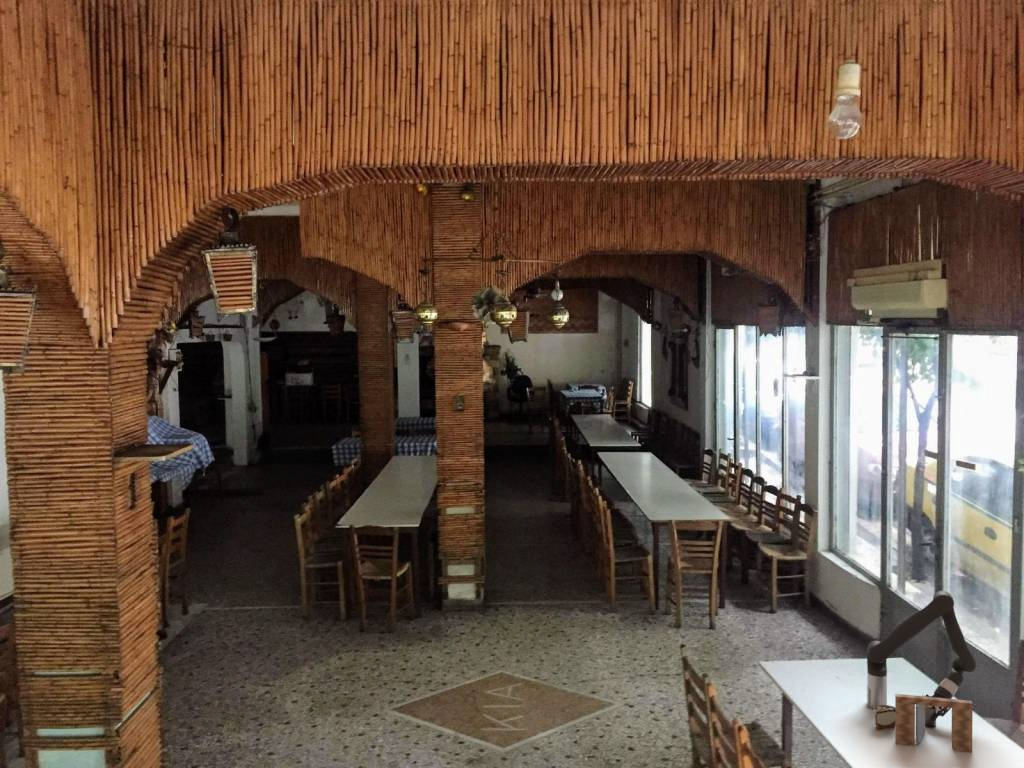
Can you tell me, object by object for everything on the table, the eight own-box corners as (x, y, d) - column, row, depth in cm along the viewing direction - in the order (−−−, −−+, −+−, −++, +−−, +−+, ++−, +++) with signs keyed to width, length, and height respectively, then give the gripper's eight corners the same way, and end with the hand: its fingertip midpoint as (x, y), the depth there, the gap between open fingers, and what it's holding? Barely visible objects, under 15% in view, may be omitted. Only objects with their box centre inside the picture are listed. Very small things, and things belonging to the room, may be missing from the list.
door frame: (896, 744, 398) (896, 696, 396) (895, 741, 401) (895, 693, 399) (972, 752, 388) (972, 703, 387) (970, 749, 391) (971, 700, 390)
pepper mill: (924, 727, 413) (924, 705, 413) (922, 722, 419) (922, 701, 418) (936, 728, 412) (937, 707, 411) (934, 723, 417) (934, 702, 416)
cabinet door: (918, 743, 397) (918, 706, 395) (912, 742, 398) (912, 704, 397) (924, 732, 408) (925, 695, 407) (919, 730, 409) (919, 694, 408)
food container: (889, 722, 419) (889, 702, 419) (897, 728, 413) (897, 708, 413) (867, 725, 417) (867, 705, 416) (875, 731, 411) (875, 711, 410)
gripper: (930, 680, 423) (911, 707, 420) (953, 691, 410) (933, 719, 407) (939, 688, 425) (919, 716, 422) (962, 700, 411) (942, 728, 409)
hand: (926, 717), depth 414 cm, fingers closed on pepper mill, 5 cm apart
